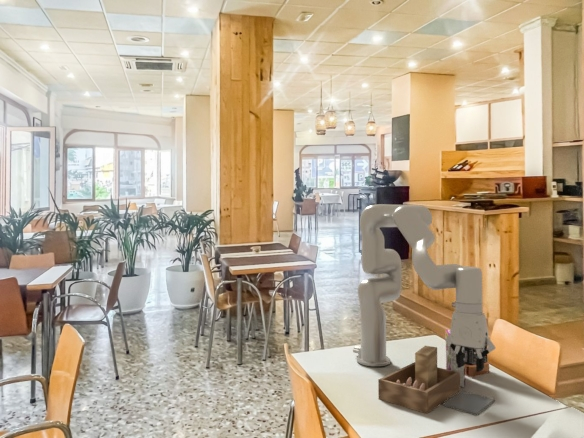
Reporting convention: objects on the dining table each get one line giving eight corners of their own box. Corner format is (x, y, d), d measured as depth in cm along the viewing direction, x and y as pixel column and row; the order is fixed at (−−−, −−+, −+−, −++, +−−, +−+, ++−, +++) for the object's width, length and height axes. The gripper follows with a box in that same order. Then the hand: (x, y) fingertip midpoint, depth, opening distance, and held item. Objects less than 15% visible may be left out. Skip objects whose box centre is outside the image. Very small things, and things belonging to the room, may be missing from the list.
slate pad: (443, 405, 136) (443, 403, 136) (462, 392, 146) (462, 390, 146) (477, 415, 129) (477, 413, 129) (494, 400, 140) (494, 398, 140)
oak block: (415, 393, 146) (415, 352, 146) (425, 384, 154) (425, 345, 154) (427, 396, 143) (427, 354, 143) (437, 386, 152) (437, 347, 152)
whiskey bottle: (470, 378, 159) (470, 286, 159) (448, 370, 168) (448, 282, 168) (491, 373, 164) (490, 284, 164) (469, 366, 172) (468, 281, 172)
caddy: (378, 398, 142) (378, 379, 142) (414, 379, 158) (414, 362, 158) (426, 413, 131) (426, 392, 131) (460, 391, 147) (460, 372, 147)
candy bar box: (445, 375, 162) (444, 329, 162) (460, 376, 161) (459, 329, 161) (449, 386, 151) (449, 337, 151) (465, 387, 150) (465, 337, 150)
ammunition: (390, 395, 144) (409, 391, 148) (407, 404, 137) (426, 398, 141) (390, 380, 144) (409, 376, 148) (407, 388, 137) (426, 383, 141)
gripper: (436, 306, 141) (437, 365, 141) (493, 313, 129) (494, 378, 129) (447, 303, 146) (448, 360, 146) (503, 309, 135) (503, 371, 135)
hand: (469, 368), depth 138 cm, fingers open, 5 cm apart
